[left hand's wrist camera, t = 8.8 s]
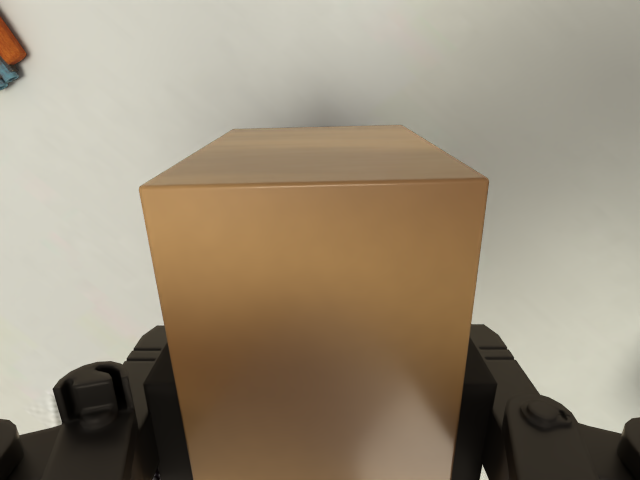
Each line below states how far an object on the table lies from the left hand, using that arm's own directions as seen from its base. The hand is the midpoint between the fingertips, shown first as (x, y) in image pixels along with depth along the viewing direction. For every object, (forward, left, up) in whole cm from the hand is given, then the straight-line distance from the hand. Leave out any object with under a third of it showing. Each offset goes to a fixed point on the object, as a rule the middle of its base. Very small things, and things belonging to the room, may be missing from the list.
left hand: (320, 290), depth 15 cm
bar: (-2, +18, -1) cm, 19 cm away
